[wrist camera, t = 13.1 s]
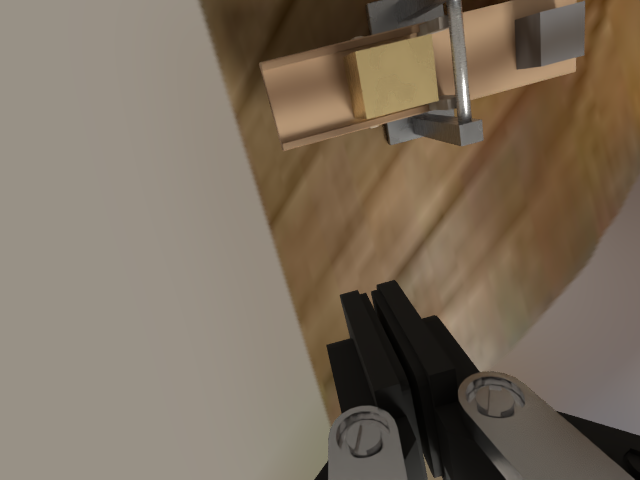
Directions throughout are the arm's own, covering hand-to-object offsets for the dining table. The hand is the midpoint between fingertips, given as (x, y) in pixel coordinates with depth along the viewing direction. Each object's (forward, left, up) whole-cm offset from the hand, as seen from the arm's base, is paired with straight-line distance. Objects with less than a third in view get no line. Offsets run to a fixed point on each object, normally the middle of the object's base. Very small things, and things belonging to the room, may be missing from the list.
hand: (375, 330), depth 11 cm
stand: (-6, +13, -31) cm, 34 cm away
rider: (-6, +8, -25) cm, 27 cm away
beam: (-6, +13, -26) cm, 30 cm away
